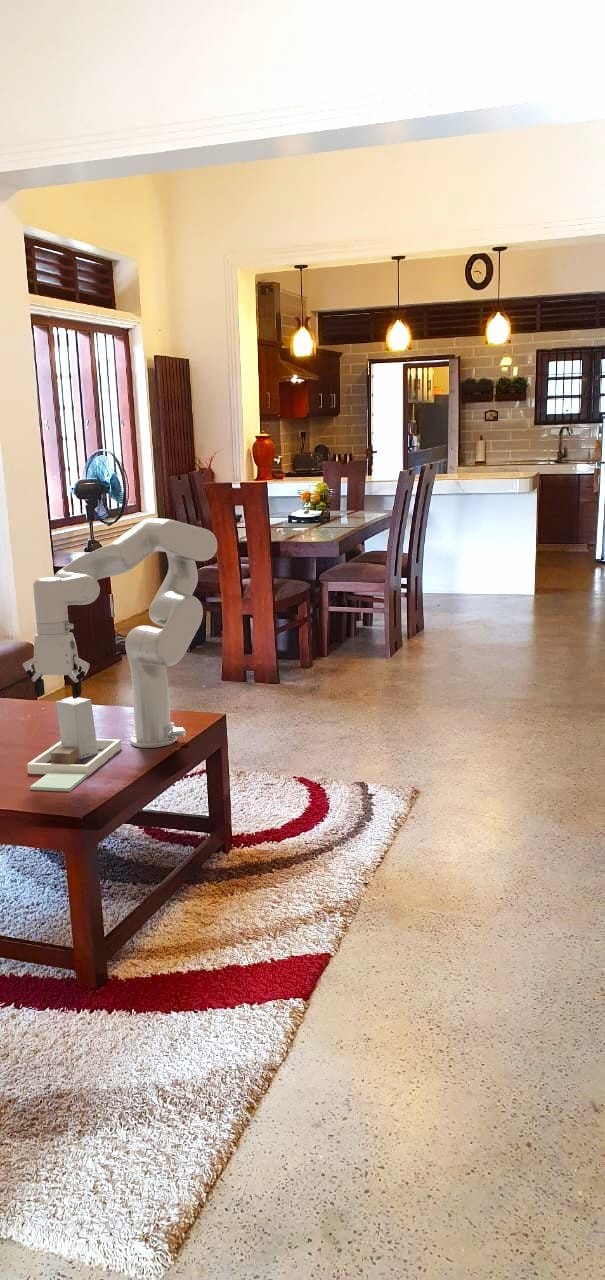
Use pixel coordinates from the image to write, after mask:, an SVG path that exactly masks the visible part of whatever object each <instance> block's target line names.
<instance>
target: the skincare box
mask: <svg viewBox="0 0 605 1280" xmlns="http://www.w3.org/2000/svg"><path fill="white" fill-rule="evenodd" d="M55 705H56V714H57V721H58V728H59V736H60V741H61V744H62V747H78V752H79V760H83V759H86V758H89V757H92V756H95V755H96V756H97V755H98V754H99V749H98V748H97V741H96V739H97V734H96V725H95V719H94V711H93V705H92V699H90V698H84V697H80V696H79V697H78V698H76V699H74V698H73V696H69V697H66V698H63V699H60V700H56V701H55Z"/></svg>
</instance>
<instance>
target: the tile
mask: <svg viewBox="0 0 605 1280" xmlns="http://www.w3.org/2000/svg"><path fill="white" fill-rule="evenodd" d="M88 777H89V776H87V774H85V773H59V772H49V773H48V774H44V776H42V777H41V778H40V779H38V780H36V781H35V782H34V783H33V784H31V785H30V786H29V791H50V792H71V791H72V790H73V789H74V788H76V787H77V786H78V785H79V784H80V783H82V782H83V781H84V780H85V779H87V778H88Z"/></svg>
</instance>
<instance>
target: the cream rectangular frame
mask: <svg viewBox="0 0 605 1280" xmlns="http://www.w3.org/2000/svg"><path fill="white" fill-rule="evenodd" d="M96 741H97V748H98V750H102V751H101V752H99V753H98V754H96V756H94V757H93V758H92V759H90V760H89V761H88V762H87V763H85V764H80V765H79V764H52V763H51V762H50V761H51V752H53V751H54V750H56V749H57V748H58V747H62V744H61V740H59V741H58V742H57V743H55V744H54V745H52V746H51V747H50V748H49V749H47V750H45V751H44V752H43V753H40V754H39V755H38V756H37V757H35V758H34V759H32V760H31V761H29V762H28V763H26V765H27V766H26V767H27V774H28V773H29V775H46V774H48V773H49V772H59V773H85V774H87V776H88V777H89V776H90V775H92V774H93V773H94V772H96V770H98V769H99V768H100V767H101V766H102V765H104V764H105V763H107V761H109V760H108V759H109V758H110V759H111V758H112V757H114V756H115V755H116V754H117V753H118V752H119V751H121V750H122V749H121V748H122V740H121V739H114V738H112V739H111V738H110V739H107V738H105V739H104V738H96ZM120 749H121V750H120ZM117 751H118V752H117ZM116 752H117V753H116ZM115 753H116V754H115ZM114 754H115V755H114Z"/></svg>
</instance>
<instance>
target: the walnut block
mask: <svg viewBox="0 0 605 1280" xmlns="http://www.w3.org/2000/svg"><path fill="white" fill-rule="evenodd" d="M50 761H51V762H50V763H51V764H79V765H81V764H80V759H79V752H78V747H58V748H57V749H56V750H54V751H53V752H51V760H50Z"/></svg>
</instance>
